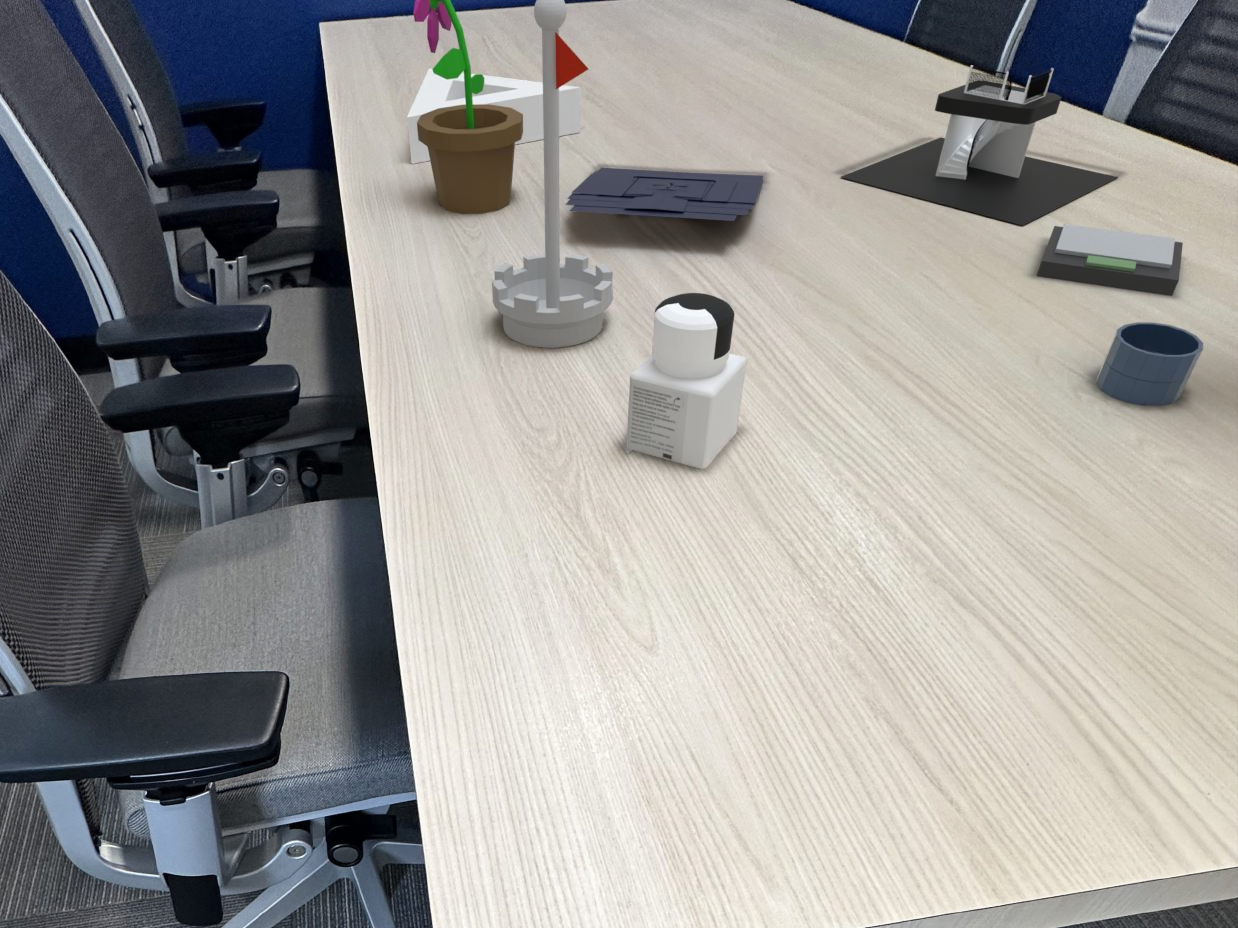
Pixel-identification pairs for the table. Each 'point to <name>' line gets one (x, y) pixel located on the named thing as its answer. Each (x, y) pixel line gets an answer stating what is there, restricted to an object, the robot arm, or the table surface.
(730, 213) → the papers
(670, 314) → the container
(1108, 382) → the blue cup
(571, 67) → the flag stand
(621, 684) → the table surface
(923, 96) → the table surface
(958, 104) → the black-topped pedestal
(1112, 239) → the scale
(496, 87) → the triangle block
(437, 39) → the flowerpot
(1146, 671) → the table surface
